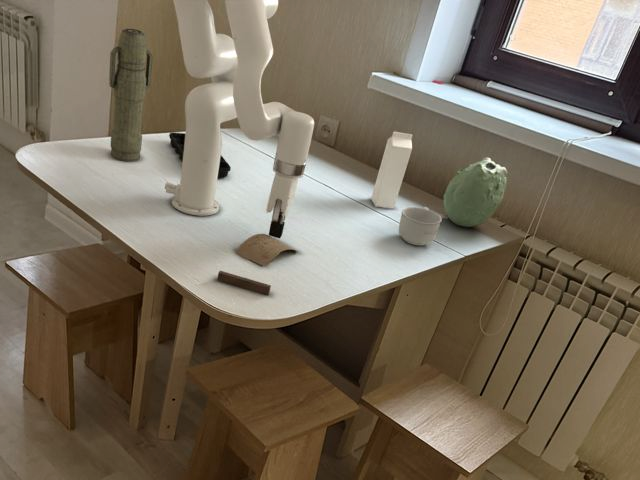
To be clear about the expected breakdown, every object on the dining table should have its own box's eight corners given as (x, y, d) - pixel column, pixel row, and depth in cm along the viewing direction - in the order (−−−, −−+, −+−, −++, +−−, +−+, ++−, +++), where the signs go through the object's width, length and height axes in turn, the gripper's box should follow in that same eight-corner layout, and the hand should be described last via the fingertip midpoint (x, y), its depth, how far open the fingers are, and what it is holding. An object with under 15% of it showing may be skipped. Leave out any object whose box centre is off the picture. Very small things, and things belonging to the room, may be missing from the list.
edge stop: (217, 280, 151) (218, 272, 150) (218, 278, 152) (220, 270, 151) (268, 295, 150) (269, 287, 149) (269, 293, 151) (271, 285, 150)
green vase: (424, 218, 204) (446, 154, 193) (458, 209, 216) (480, 148, 205) (467, 241, 196) (493, 175, 184) (500, 230, 208) (526, 167, 196)
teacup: (424, 253, 183) (433, 226, 179) (388, 238, 187) (396, 212, 183) (441, 239, 194) (450, 213, 189) (406, 225, 197) (415, 199, 193)
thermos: (150, 160, 204) (160, 35, 184) (115, 163, 197) (122, 34, 178) (135, 149, 209) (144, 27, 190) (100, 152, 202) (106, 25, 183)
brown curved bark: (265, 268, 160) (267, 258, 158) (233, 251, 164) (235, 241, 163) (300, 253, 170) (303, 243, 169) (269, 237, 175) (271, 227, 173)
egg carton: (200, 142, 225) (201, 131, 223) (246, 178, 205) (248, 166, 203) (151, 144, 216) (152, 132, 214) (194, 181, 196) (196, 169, 194)
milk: (393, 209, 206) (416, 138, 194) (374, 206, 205) (396, 134, 193) (389, 201, 211) (410, 131, 199) (370, 198, 210) (390, 128, 198)
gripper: (281, 154, 169) (268, 221, 179) (266, 171, 157) (253, 243, 167) (310, 161, 168) (295, 229, 178) (297, 180, 156) (282, 251, 166)
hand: (275, 235), depth 172 cm, fingers closed
